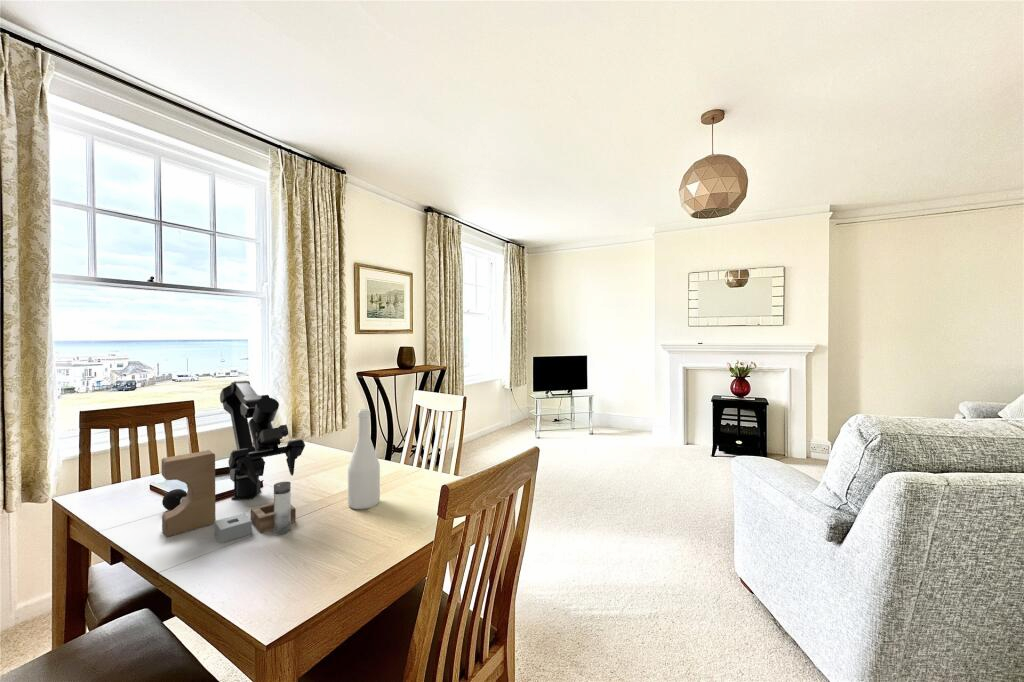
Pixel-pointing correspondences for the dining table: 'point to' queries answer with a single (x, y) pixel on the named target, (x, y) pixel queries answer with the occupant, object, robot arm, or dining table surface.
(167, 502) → the billiard ball
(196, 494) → the decorative block
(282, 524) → the cylinder
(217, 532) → the slate block
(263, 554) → the dining table surface
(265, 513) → the walnut block
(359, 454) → the wine bottle
